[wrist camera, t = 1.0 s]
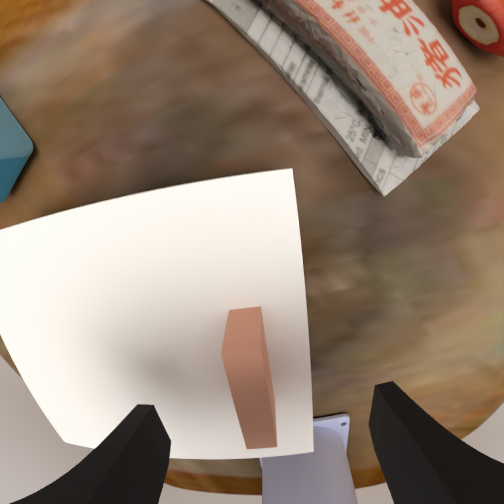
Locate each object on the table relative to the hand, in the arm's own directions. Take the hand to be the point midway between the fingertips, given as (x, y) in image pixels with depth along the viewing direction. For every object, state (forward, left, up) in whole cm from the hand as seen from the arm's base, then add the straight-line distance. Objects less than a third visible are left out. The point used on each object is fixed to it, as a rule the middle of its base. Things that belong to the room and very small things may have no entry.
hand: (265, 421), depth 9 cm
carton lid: (0, +6, -4) cm, 8 cm away
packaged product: (+15, -7, -11) cm, 20 cm away
